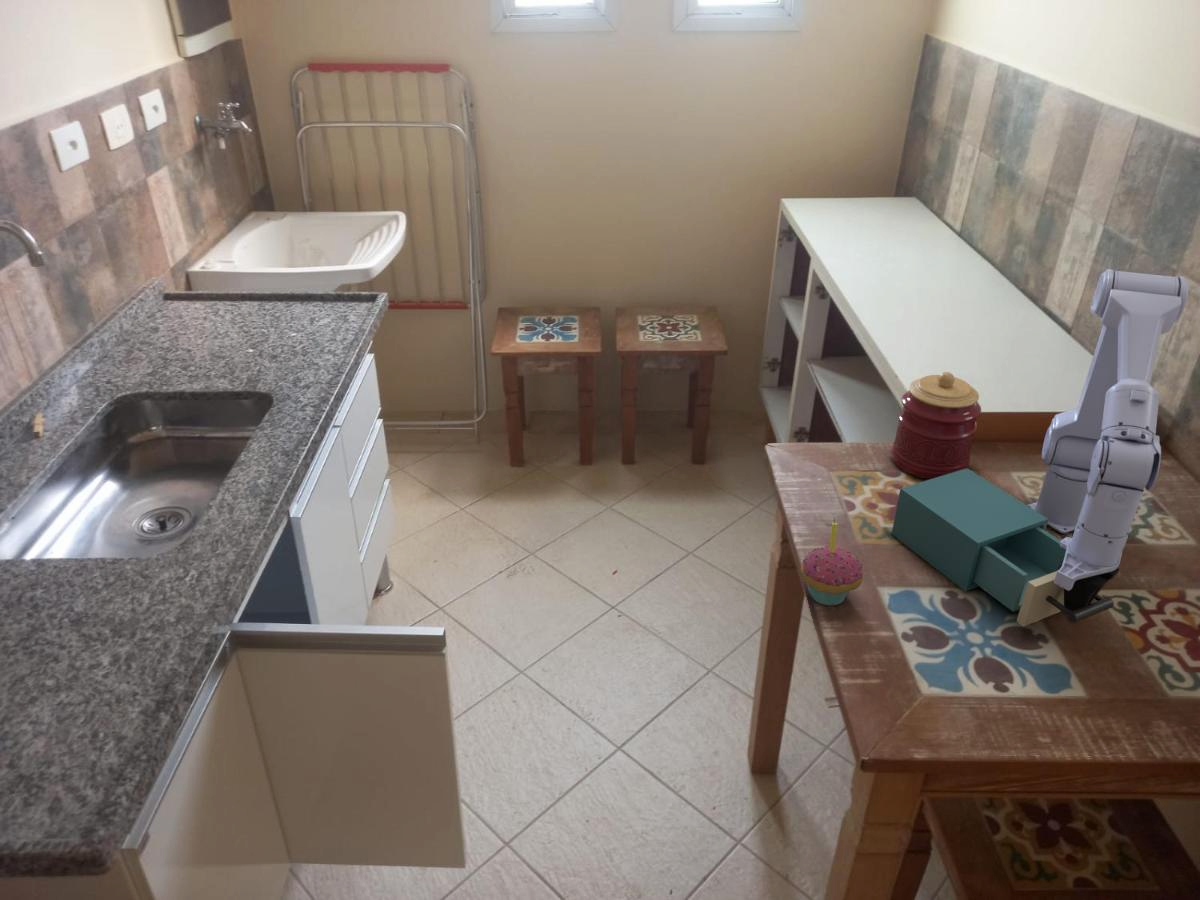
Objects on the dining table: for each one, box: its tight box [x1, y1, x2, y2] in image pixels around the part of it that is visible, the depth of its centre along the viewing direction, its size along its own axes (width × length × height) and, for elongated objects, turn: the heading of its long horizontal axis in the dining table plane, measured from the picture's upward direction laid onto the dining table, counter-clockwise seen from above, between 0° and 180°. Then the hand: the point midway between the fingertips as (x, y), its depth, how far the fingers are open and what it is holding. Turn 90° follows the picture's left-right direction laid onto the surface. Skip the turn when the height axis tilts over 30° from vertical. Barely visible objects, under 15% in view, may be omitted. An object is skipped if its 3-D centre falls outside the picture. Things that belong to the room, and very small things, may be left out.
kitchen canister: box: [891, 371, 982, 480], centre depth 152 cm, size 13×13×18 cm
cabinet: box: [891, 467, 1049, 592], centre depth 132 cm, size 16×14×9 cm
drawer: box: [972, 526, 1115, 627], centre depth 122 cm, size 19×12×7 cm, turn 25°
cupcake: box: [800, 517, 865, 606], centre depth 122 cm, size 9×8×12 cm
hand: (1074, 608), depth 117 cm, fingers closed, pressing on drawer
